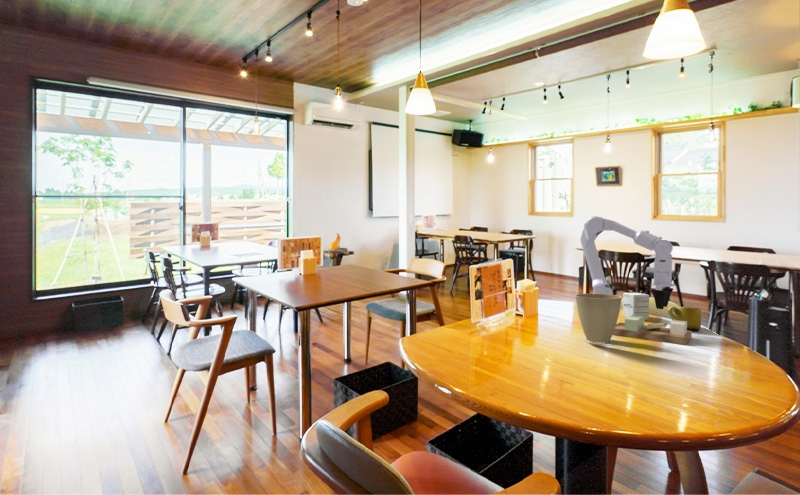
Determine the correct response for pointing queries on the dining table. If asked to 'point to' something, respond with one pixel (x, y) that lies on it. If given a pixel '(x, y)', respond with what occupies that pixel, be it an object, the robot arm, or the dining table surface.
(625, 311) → the supplement box
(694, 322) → the mug
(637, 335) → the panel
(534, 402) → the dining table surface
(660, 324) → the tan flat block
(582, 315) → the plant pot
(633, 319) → the light green rectangular bar
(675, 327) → the button white
